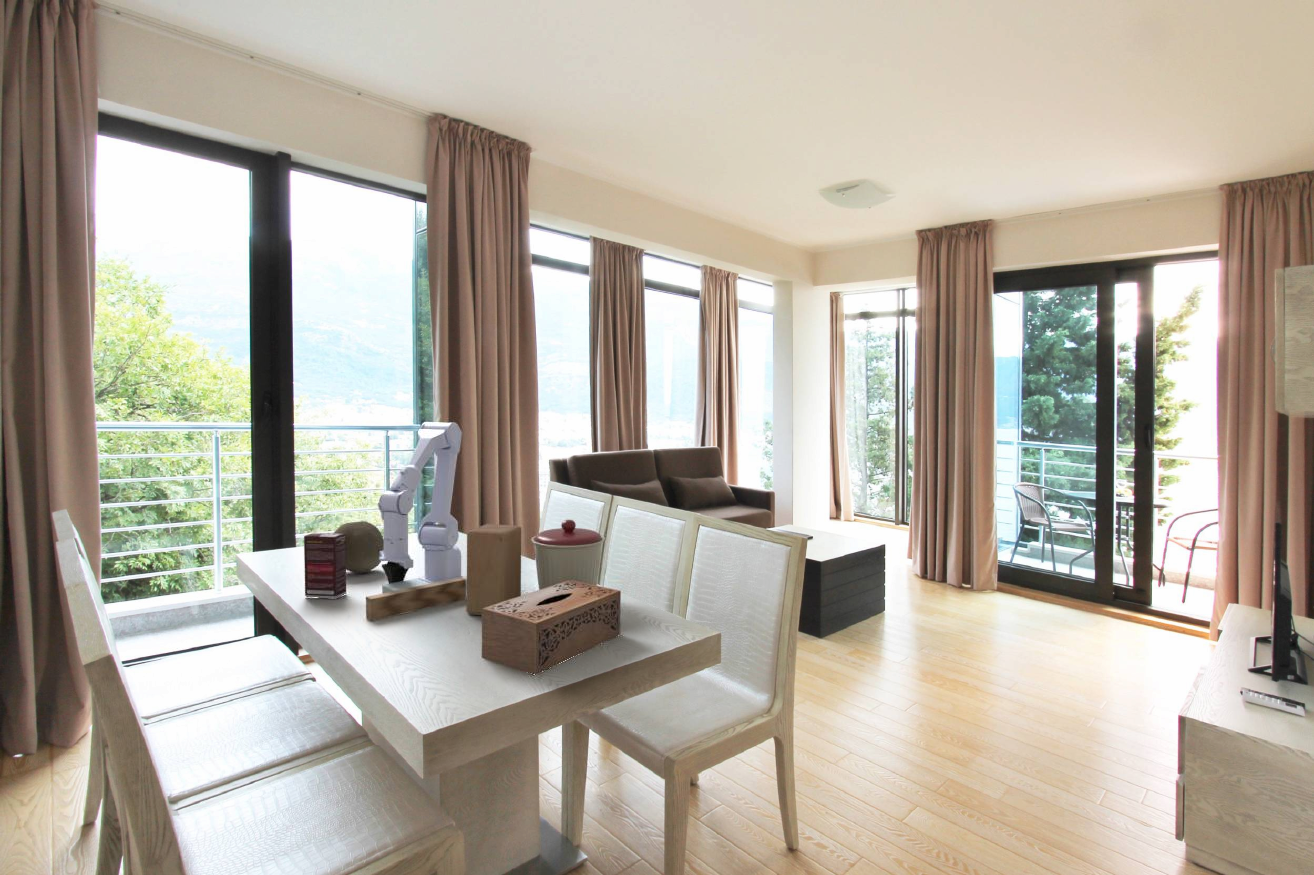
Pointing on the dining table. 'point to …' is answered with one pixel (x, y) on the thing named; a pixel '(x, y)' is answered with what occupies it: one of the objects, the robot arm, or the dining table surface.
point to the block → (402, 585)
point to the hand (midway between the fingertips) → (396, 591)
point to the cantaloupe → (362, 546)
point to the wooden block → (493, 566)
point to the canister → (567, 555)
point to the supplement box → (325, 565)
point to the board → (415, 598)
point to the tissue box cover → (550, 625)
